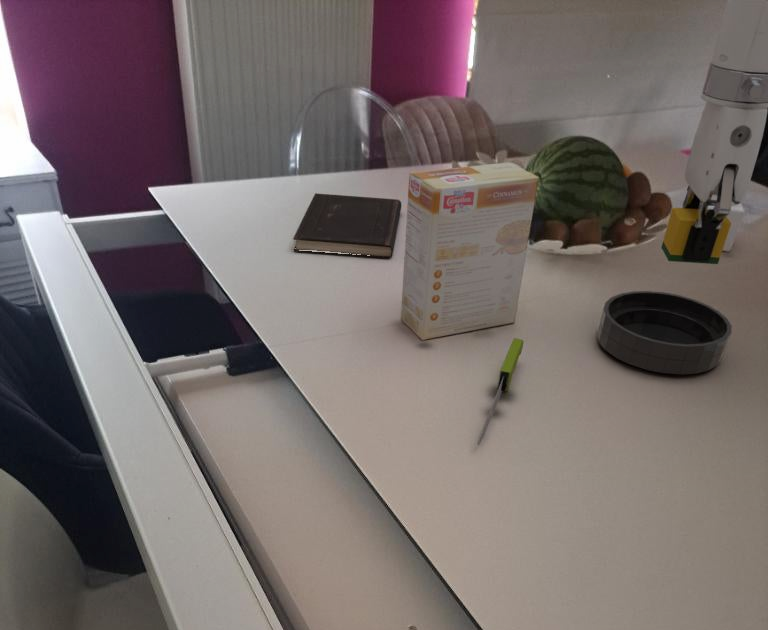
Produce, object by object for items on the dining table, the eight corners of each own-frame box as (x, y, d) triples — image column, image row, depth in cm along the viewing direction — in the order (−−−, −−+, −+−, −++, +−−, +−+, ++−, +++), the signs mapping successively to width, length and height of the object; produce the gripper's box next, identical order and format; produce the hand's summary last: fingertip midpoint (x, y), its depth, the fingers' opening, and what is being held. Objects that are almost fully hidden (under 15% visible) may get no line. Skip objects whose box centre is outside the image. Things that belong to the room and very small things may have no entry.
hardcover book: (293, 251, 119) (293, 237, 118) (315, 206, 137) (315, 193, 136) (392, 259, 119) (392, 245, 117) (401, 212, 137) (401, 199, 135)
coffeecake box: (489, 303, 108) (510, 160, 95) (516, 324, 103) (542, 176, 90) (398, 319, 103) (407, 170, 90) (421, 341, 98) (435, 187, 85)
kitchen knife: (480, 464, 79) (483, 443, 77) (469, 462, 79) (472, 440, 77) (521, 357, 94) (524, 336, 92) (511, 355, 95) (514, 334, 92)
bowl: (703, 326, 105) (714, 296, 102) (734, 383, 93) (747, 351, 90) (589, 316, 106) (596, 286, 103) (604, 372, 94) (613, 340, 91)
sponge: (708, 250, 94) (721, 210, 91) (717, 264, 91) (731, 223, 87) (661, 247, 94) (672, 207, 91) (668, 261, 91) (680, 220, 88)
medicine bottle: (725, 238, 134) (749, 168, 126) (730, 252, 128) (756, 179, 121) (684, 233, 135) (706, 163, 127) (688, 247, 129) (710, 175, 122)
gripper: (802, 105, 74) (739, 281, 86) (753, 73, 86) (704, 229, 98) (726, 101, 74) (673, 277, 86) (688, 69, 87) (647, 226, 99)
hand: (690, 250), depth 92 cm, fingers closed on sponge, 4 cm apart
